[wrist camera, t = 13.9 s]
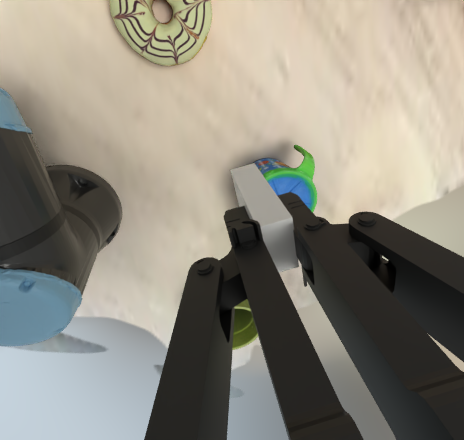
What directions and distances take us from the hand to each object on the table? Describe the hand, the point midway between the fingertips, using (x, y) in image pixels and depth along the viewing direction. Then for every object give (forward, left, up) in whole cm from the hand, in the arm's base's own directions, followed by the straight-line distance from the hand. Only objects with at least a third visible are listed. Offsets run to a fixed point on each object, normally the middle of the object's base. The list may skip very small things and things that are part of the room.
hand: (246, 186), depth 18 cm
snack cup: (+7, -14, -30) cm, 33 cm away
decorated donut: (-2, +12, -30) cm, 32 cm away
